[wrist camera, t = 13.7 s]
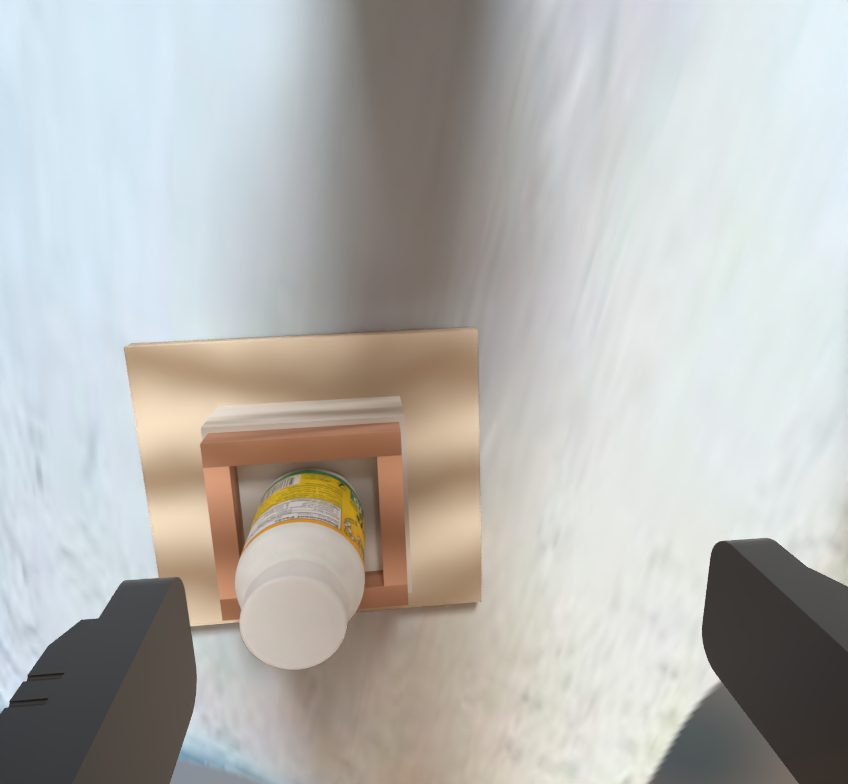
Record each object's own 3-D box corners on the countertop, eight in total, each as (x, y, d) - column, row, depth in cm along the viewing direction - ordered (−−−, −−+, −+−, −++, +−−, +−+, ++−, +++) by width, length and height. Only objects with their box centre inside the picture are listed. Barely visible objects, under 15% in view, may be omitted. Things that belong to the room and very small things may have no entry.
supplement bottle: (270, 454, 32) (233, 546, 23) (375, 475, 33) (380, 572, 24) (250, 551, 33) (208, 674, 24) (352, 569, 34) (348, 695, 25)
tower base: (131, 343, 35) (79, 370, 29) (474, 327, 37) (498, 348, 30) (172, 616, 40) (135, 694, 33) (478, 591, 41) (500, 660, 35)
